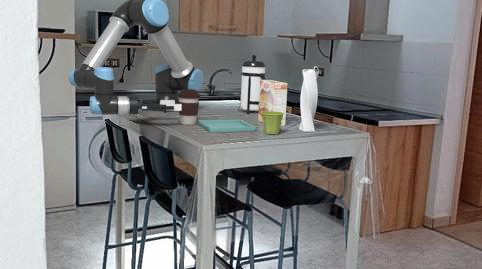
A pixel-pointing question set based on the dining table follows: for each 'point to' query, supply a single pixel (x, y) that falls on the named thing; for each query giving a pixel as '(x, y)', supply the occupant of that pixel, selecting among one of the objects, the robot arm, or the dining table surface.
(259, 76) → the coffee press
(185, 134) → the dining table surface
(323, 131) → the dining table surface
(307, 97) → the skyscraper
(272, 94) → the coffeecake box
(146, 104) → the robot arm
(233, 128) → the tray
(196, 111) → the coffee cup
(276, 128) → the plant pot
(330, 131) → the dining table surface
